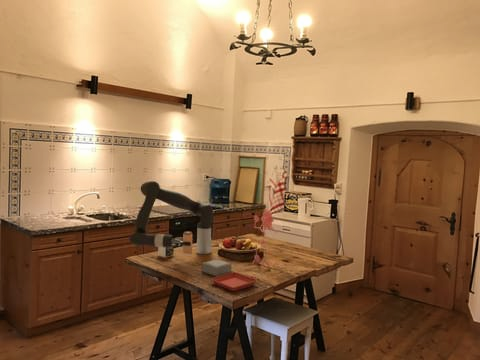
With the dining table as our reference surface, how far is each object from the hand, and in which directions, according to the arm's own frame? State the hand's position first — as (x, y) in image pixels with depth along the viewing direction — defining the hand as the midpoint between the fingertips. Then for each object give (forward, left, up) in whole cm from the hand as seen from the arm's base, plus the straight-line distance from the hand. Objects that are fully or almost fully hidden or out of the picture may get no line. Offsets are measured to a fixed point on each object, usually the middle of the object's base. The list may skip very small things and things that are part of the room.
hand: (191, 242), depth 235 cm
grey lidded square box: (-8, +13, -16) cm, 22 cm away
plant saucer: (0, +34, -17) cm, 38 cm away
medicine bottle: (-6, -32, -16) cm, 37 cm away
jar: (+1, -2, -6) cm, 7 cm away
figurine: (-40, +24, -16) cm, 50 cm away
